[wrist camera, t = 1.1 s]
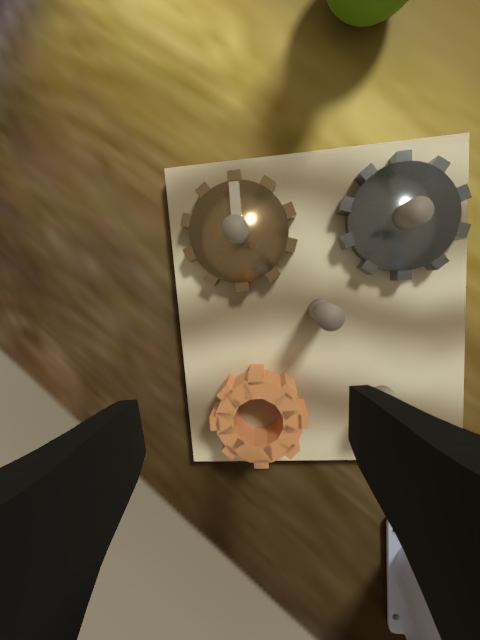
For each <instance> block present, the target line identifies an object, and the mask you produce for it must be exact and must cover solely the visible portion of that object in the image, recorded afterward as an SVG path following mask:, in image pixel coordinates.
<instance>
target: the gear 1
mask: <svg viewBox="0 0 480 640" xmlns="http://www.w3.org/2000/svg"><path fill="white" fill-rule="evenodd" d="M275 188H276V182H275V181H274V180H272V179H271V178H269V177H267V176H266V175H264V176H263V177H262V179H261V181H260V183H256V182H253V181H249V180H242V173H241V170H240V169H237V170H228V171H227V181H226V182H223V183H220V184H218V185H216V186H214V187H213V188H210V187H209V186H208V185H207V183H206V182H205V181H204V182H203V183H202V184H201V185H200V186H199V187H198V188H197V189H196V190H195V192H196V193H197V194H198V195H199V196H200V198H201V199H200V200H199V202H198V203H197V205H196V206H195V208H194V210H193V213H192V214H189V213H184V212H183V214H182V219H181V224H180V226H182V227H184V228H186V229H189V238H190V244H191V246H189V247H187V248H185V249H182V250H183V252H184V254H185V257H186V259H187V262H192V263H193V262H195V261H197V260H198V262H199V263H200V264H201V266H202V267H203V268H204V269H205V270H206V271H207V273H206V275H205V276H204V278H203V280H204V281H206V282H207V283H209V284H210V285H212V286H217V285H218V283H219V282H220V280H224V281H228V282H234V283H235V286H236V292H244V291H250V281H253V280H256V279H258V278H261V277H262V276H264V275H265V276H266V277H267V278H268V280H269V281H270V282H272V281H273V280H274V279H275V278H277V277H278V276H279V275H280V274H281V273H280V272H279V270H278V269H277V268H276V267H275V266H276V265H277V263H278V262H279V261H280V259H281V257H282V255H283V253H284V252H286V253H290V254H294V252H295V248H296V244H297V241H298V239H294V238H290V237H288V235H289V226H288V221H289V220H292V219H294V218H295V217H296V215H297V214H296V211H295V209H294V206H293V203H292V201H291V202H289V203H286V204H284V205H282V204H281V202H280V201H279V199H278V198H277V197H276V196H275V195H274V194H273V191H274V190H275ZM232 214H237V215H240V216H242V217H243V218H244V219H245V221H246V222H247V225H248V227H249V230H250V234H249V237H248V239H247V240H246V241H245V242H244V243H242V244H234V243H232V242H231V241H229V240H228V239H227V238H226V237H225V236H224V234H223V232H222V223H223V221H224V219H225V218H226V217H228V216H229V215H232Z"/></svg>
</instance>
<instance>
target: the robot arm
mask: <svg viewBox="0 0 480 640" xmlns="http://www.w3.org/2000/svg"><path fill="white" fill-rule="evenodd" d="M348 440H349V442H350V445H351V448H352V451H353V453H354V456H355V458H356V461H357V463H358V466H359V468H360V470H361V472H362V474H363V475H364V477H365V479H366V481H367V483H368V485H369V487H370V488H371V490H372V492H373V494H374V496H375V498H376V499H377V501H378V503H379V505H380V507H381V509H382V510H383V512H384V514H385V516H386V518H387V521H386V551H387V623H388V627H389V630H390V631H391V632H392V633H395V634H404V635H405V637H406V640H480V435H479V434H476V433H473V432H471V431H468V430H466V429H463V428H461V427H458V426H456V425H453V424H451V423H449V422H446V421H444V420H442V419H440V418H437V417H435V416H433V415H431V414H428V413H426V412H424V411H422V410H420V409H418V408H416V407H414V406H412V405H410V404H408V403H406V402H404V401H402V400H400V399H398V398H396V397H394V396H392V395H390V394H388V393H385V392H383V391H381V390H379V389H377V388H375V387H372V386H370V385H357V386H349V427H348ZM145 454H146V448H145V442H144V436H143V430H142V425H141V419H140V413H139V407H138V402H137V400H123V401H118V402H116V403H114V404H112V405H110V406H108V407H107V408H105V409H103V410H101V411H100V412H98V413H97V414H95V415H93V416H92V417H90V418H88V419H87V420H85V421H84V422H82V423H80V424H79V425H77V426H76V427H74V428H72V429H71V430H69V431H67V432H66V433H64V434H62V435H61V436H59V437H57V438H55V439H54V440H52V441H50V442H49V443H47V444H45V445H43V446H42V447H40V448H38V449H36V450H34V451H33V452H31V453H29V454H27V455H25V456H23V457H21V458H19V459H17V460H15V461H13V462H11V463H9V464H7V465H5V466H3V467H1V468H0V640H77V637H78V634H79V631H80V628H81V624H82V622H83V618H84V615H85V612H86V609H87V606H88V602H89V600H90V597H91V594H92V591H93V588H94V585H95V582H96V579H97V576H98V573H99V570H100V567H101V565H102V562H103V559H104V557H105V555H106V552H107V550H108V547H109V545H110V542H111V540H112V538H113V536H114V534H115V531H116V529H117V527H118V524H119V522H120V520H121V518H122V515H123V513H124V511H125V509H126V506H127V504H128V502H129V499H130V497H131V495H132V492H133V490H134V488H135V485H136V483H137V481H138V478H139V475H140V472H141V468H142V465H143V461H144V457H145ZM392 530H394V531H392Z"/></svg>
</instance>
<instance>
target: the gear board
mask: <svg viewBox="0 0 480 640" xmlns="http://www.w3.org/2000/svg"><path fill="white" fill-rule="evenodd" d="M403 150H412V161H421V162H425V163H428V162H430V161H431V160H432V159H434V158H435V157H437V156H438V155H439V156H441V157H442V158H444V159H446V160H447V161H449V162H451V164H450V165H449V167H448V168H447V169H446V171H445V172H444V173H445V174H446V175H447V176H448V177H449V178H450V179H451V180H452V182H453V183H454V184H455V186H456V188H457V187H460V186H462V185H465V184H468V172H469V133H462V134H453V135H445V136H436V137H428V138H419V139H411V140H402V141H394V142H386V143H377V144H369V145H360V146H352V147H343V148H335V149H326V150H318V151H309V152H301V153H292V154H284V155H275V156H267V157H258V158H250V159H241V160H233V161H224V162H216V163H207V164H199V165H190V166H182V167H173V168H165V169H164V170H165V180H166V190H167V200H168V210H169V220H170V229H171V239H172V249H173V259H174V269H175V279H176V289H177V299H178V308H179V318H180V328H181V338H182V348H183V358H184V368H185V378H186V387H187V397H188V407H189V417H190V427H191V437H192V447H193V457H194V461H246V460H244V459H242V458H240V457H238V456H236V457H235V458H234V459H233V460H231V459H230V458H229V457H228V456H226V455H225V454H224V453H223V452H222V451H221V450H222V447H223V442H222V441H221V439H220V438H219V436H218V435H217V431H210V420H209V417H210V414H211V412H212V410H213V408H214V405H215V403H216V402H219V401H220V400H221V399H219V398H218V397H217V393H218V391H219V389H220V387H221V385H222V383H223V381H224V380H225V379H226V378H227V377H228V376H229V375H230V374H233V375H234V376H235V377H237V376H239V375H240V374H242V373H243V372H245V371H247V370H249V367H250V364H264V369H268V370H270V371H272V372H274V373H276V374H278V375H281V374H282V373H283V372H284V371H285V372H286V373H287V374H288V375H290V376H291V377H292V378H293V379H294V380H295V384H296V389H297V395H298V399H304V401H305V405H306V408H307V412H308V422H309V429H302V434H301V436H300V438H299V444H300V451H299V452H298V453H297V454H296V455H295V456H294V457H293V458H292V459H291V460H290V459H289V458H288V457H287V456H283V457H281V458H279V459H278V460H276V461H293V460H356V458H355V456H354V453H353V451H352V448H351V445H350V442H349V440H348V427H349V386H357V385H370V386H372V387H375V388H377V389H379V390H381V391H383V392H385V393H388V394H390V395H392V396H394V397H396V398H398V399H400V400H402V401H404V402H406V403H408V404H410V405H412V406H414V407H416V408H418V409H420V410H422V411H424V412H426V413H428V414H431V415H433V416H435V417H437V418H440V419H442V420H444V421H446V422H449V423H451V424H453V425H456V426H458V427H461V428H463V397H464V352H465V307H466V262H467V237H466V239H462V240H456V241H453V242H452V243H451V245H450V246H449V247H448V248H447V250H446V251H445V252H444V254H445V256H446V257H447V258H448V259H449V262H447V263H446V264H445V265H444V266H442V267H441V268H440V269H438V270H426V269H425V267H424V266H422V267H420V268H416V269H413V270H412V280H401V281H392V280H390V271H386V270H381V269H377V270H376V272H375V273H374V275H366V274H365V273H363V272H362V271H360V270H358V269H357V266H358V265H359V263H360V262H361V259H360V258H359V257H358V256H357V255H356V254H355V252H354V251H353V250H352V248H351V247H349V248H346V249H344V250H341V247H340V244H339V242H338V239H337V238H338V237H340V236H342V235H344V234H346V229H345V218H346V216H342V215H338V214H337V210H338V207H339V203H340V200H341V199H342V198H343V197H344V196H348V197H353V196H354V194H355V192H356V191H357V190H358V189H359V187H360V186H359V185H358V184H357V182H356V181H355V180H354V179H355V178H356V176H357V175H358V174H359V173H360V172H361V171H362V170H363V169H364V168H366V167H367V166H368V165H369V164H370V163H372V164H373V165H374V167H375V168H376V169H377V170H380V169H382V168H383V167H385V166H388V165H389V159H390V158H391V157H392V156H393V155H394V154H395V153H396V152H397V151H403ZM237 169H240V170H241V173H242V180H249V181H253V182H256V183H260V181H261V179H262V177H263V176H264V175H266V176H267V177H269V178H271V179H272V180H274V181H275V182H276V188H275V190H274V191H273V194H274V195H275V196H276V197H277V198H278V199H279V201H280V202H281V204H282V205H284V204H286V203H289V202H291V201H292V203H293V206H294V209H295V211H296V214H297V215H296V217H295V218H294V219H292V220H289V221H288V226H289V235H288V237H290V238H294V239H298V241H297V244H296V248H295V252H294V254H290V253H286V252H284V253H283V255H282V257H281V259H280V261H279V262H278V263H277V265H276V266H275V267H276V268H277V269H278V270H279V272H280V273H281V274H280V275H279V276H278V277H277V278H275V279H274V280H273V281H272V282H270V281H269V280H268V278H267V277H266V276H265V275H264V276H262V277H261V278H258V279H256V280H253V281H250V291H244V292H236V286H235V283H234V282H228V281H224V280H220V282H219V283H218V285H217V286H212V285H210V284H209V283H207V282H206V281H204V280H203V278H204V276H205V275H206V273H207V271H206V270H205V269H204V268H203V267H202V266H201V264H200V263H199V262H198V260H197V261H195V262H193V263H192V262H187V259H186V257H185V254H184V252H183V250H182V249H185V248H187V247H189V246H191V244H190V238H189V229H186V228H184V227H182V226H180V224H181V219H182V214H183V212H184V213H189V214H192V213H193V210H194V208H195V206H196V205H197V203H198V202H199V200H200V199H201V198H200V196H199V195H198V194H197V193H196V192H195V190H196V189H197V188H198V187H199V186H200V185H201V184H202V183H203V182H204V181H205V182H206V183H207V185H208V186H209V187H210V188H213V187H214V186H216V185H218V184H220V183H223V182H226V181H227V171H228V170H237ZM461 208H462V214H461V222H463V223H467V217H468V199H467V200H464V201H462V202H461ZM433 214H434V204H433V202H432V201H431V200H430V199H429V198H428V197H425V196H417V197H415V198H413V199H411V200H409V201H407V202H405V203H404V204H402V205H400V206H398V207H397V208H396V209H395V210H394V212H393V214H392V222H393V224H394V226H395V227H397V228H398V229H401V230H406V229H410V228H413V227H415V226H418V225H421V224H424V223H426V222H428V221H429V220H430V219H431V218H432V216H433ZM222 232H223V234H224V236H225V237H226V238H227V239H228V240H229V241H231V242H232V243H234V244H242V243H244V242H245V241H246V240H247V239H248V237H249V234H250V230H249V227H248V225H247V222H246V221H245V219H244V218H243V217H242V216H240V215H237V214H232V215H229V216H228V217H226V218H225V219H224V221H223V223H222ZM238 413H239V414H240V416H241V417H242V418H243V420H244V421H245V422H246V423H248V424H250V425H252V426H254V427H268V426H270V425H271V424H273V423H275V422H277V420H278V418H279V416H280V415H281V413H280V411H279V410H278V408H277V407H276V405H274V404H272V403H270V402H268V401H266V400H264V399H252V400H248V401H247V402H245V403H244V404H242V405H240V406H239V407H238Z"/></svg>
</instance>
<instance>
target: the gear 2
mask: <svg viewBox="0 0 480 640" xmlns="http://www.w3.org/2000/svg"><path fill="white" fill-rule="evenodd" d="M450 164H451V162H449V161H447V160H446V159H444V158H442V157H441V156H439V155H438V156H437V157H435V158H434V159H432V160H431V161H430V162H428V163H425V162H421V161H412V150H403V151H397V152H396V153H395V154H394V155H393V156H392V157H391V158H390V159H389V165H388V166H385V167H383V168H382V169H380V170H377V169H376V168H375V167H374V165H373V164H372V163H370V164H369V165H368V166H367V167H366V168H364V169H363V170H362V171H361V172H360V173H359V174H358V175H357V176H356V178H355V179H354V180H355V181H356V182H357V184H358V185H359V186H360V187H359V189H358V190H357V191H356V192H355V194H354V196H353V197H348V196H344V197H343V198H342V199H341V200H340V203H339V207H338V210H337V214H338V215H342V216H346V218H345V229H346V234H344V235H342V236H340V237H338V238H337V239H338V242H339V244H340V247H341V250H344V249H346V248H349V247H351V248H352V250H353V251H354V252H355V254H356V255H357V256H358V257H359V258H360V259H361V262H360V263H359V265H358V266H357V269H358V270H360V271H362V272H363V273H365V274H366V275H374V273H375V272H376V270H377V269H381V270H386V271H390V280H392V281H401V280H412V270H413V269H416V268H420V267H422V266H424V267H425V269H426V270H438V269H440V268H441V267H442V266H444V265H445V264H446V263H447V262H449V259H448V258H447V257H446V256H445V254H444V252H445V251H446V250H447V248H448V247H449V246H450V245H451V243H452V242H453V241H456V240H462V239H466V237H467V234H468V231H469V229H470V226H471V224H468V223H463V222H461V214H462V208H461V202H462V201H464V200H467V199H469V198H471V194H470V191H469V188H468V184H465V185H462V186H460V187H457V188H456V186H455V184H454V183H453V182H452V180H451V179H450V178H449V177H448V176H447V175H446V174H445V173H444V172H445V171H446V169H447V168H448V167H449V165H450ZM417 196H425V197H428V198H429V199H430V200H431V201H432V202H433V204H434V214H433V216H432V218H431V219H430V220H429V221H428V222H426V223H424V224H421V225H418V226H415V227H413V228H410V229H406V230H401V229H398V228H397V227H395V226H394V224H393V222H392V214H393V212H394V210H395V209H396V208H397V207H398V206H400V205H402V204H404V203H405V202H407V201H409V200H411V199H413V198H415V197H417Z"/></svg>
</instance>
